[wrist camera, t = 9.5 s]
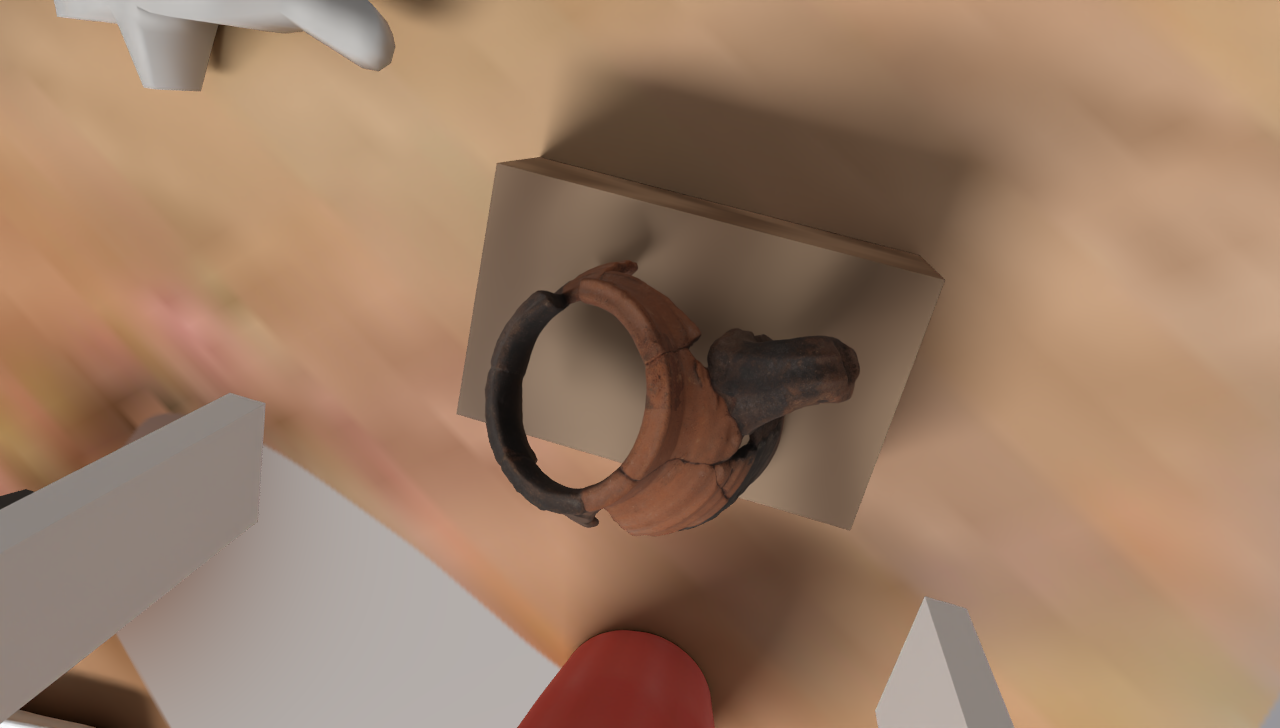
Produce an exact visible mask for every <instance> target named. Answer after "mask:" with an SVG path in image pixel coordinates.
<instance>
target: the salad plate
mask: <svg viewBox="0 0 1280 728" xmlns="http://www.w3.org/2000/svg"><path fill="white" fill-rule="evenodd" d="M0 728H95V727H91V726H88V725H84V724H79V723H74V722H70V721H65V720H60V719H55V718H51V717H46V716H42V715H38V714H34V713H30V712H26V711H23V710H18V711H16V712H15V713H14V714H13V715H11V716H10V717H9V718H7V719H6V720H5V721H4V722H2V723H1V724H0Z"/></svg>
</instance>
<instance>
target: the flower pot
mask: <svg viewBox="0 0 1280 728" xmlns="http://www.w3.org/2000/svg"><path fill="white" fill-rule="evenodd" d="M517 728H715V726H714V719H713V711H712V704H711V696H710V691H709V687H708V685H707V682H706V679H705V677H704V675H703V673H702V671H701V670H700V668H699V667H698V665H697V664H696V663H695V662H694V661H693V659H692V658H691V657H690V656H689V655H688V654H687V653H686V652H684V651H683V650H682V649H681V648H679V647H678V646H676V645H675V644H673V643H672V642H670V641H668V640H666V639H664V638H662V637H659V636H656V635H653V634H650V633H646V632H638V631H629V630H616V631H610V632H606V633H602V634H599V635H597V636H595V637H593V638H591V639H589V640H588V641H586V642H585V643H583V644H582V645H581V646H579V647H578V648H577V649H576V650H575V651H574V653H573V654H572V655H571V657H570V658H569V659H568V661H567V662H566V663H565V665H564V666H563V667H562V668H561V670H560V671H559V672H558V673H557V675H556V676H555V677H554V679H553V680H552V681H551V682H550V684H549V685H548V686H547V688H546V689H545V690H544V692H543V693H542V694H541V695H540V697H539V698H538V700H537V701H536V702H535V704H534V705H533V706H532V708H531V709H530V711H529V712H528V714H527V715H526V716H525V718H524V719H523V720H522V722H521V723H520V725H519V726H518V727H517Z"/></svg>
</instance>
